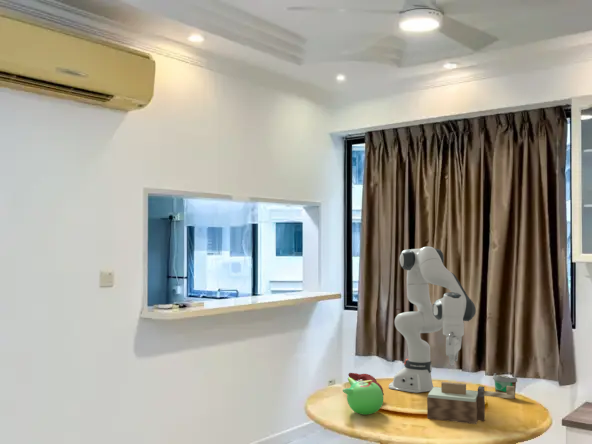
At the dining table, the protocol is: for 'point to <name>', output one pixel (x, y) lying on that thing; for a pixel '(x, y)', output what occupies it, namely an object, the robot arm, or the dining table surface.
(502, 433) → the dining table surface
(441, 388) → the toolbox lid
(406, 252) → the robot arm
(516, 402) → the dining table surface
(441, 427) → the dining table surface
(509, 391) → the wooden key
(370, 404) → the toy bird
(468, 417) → the toolbox
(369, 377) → the red toy dinosaur
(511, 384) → the food container
